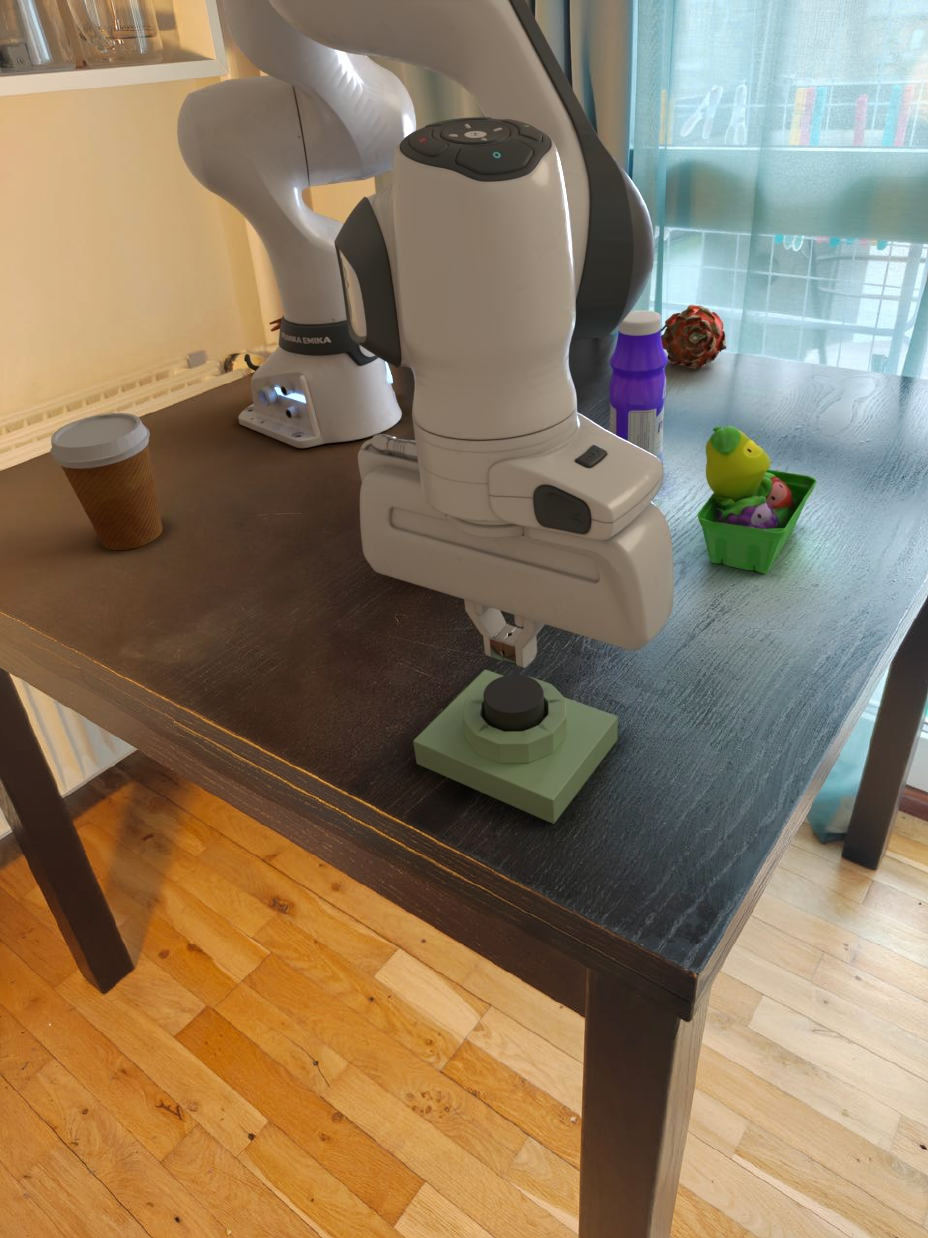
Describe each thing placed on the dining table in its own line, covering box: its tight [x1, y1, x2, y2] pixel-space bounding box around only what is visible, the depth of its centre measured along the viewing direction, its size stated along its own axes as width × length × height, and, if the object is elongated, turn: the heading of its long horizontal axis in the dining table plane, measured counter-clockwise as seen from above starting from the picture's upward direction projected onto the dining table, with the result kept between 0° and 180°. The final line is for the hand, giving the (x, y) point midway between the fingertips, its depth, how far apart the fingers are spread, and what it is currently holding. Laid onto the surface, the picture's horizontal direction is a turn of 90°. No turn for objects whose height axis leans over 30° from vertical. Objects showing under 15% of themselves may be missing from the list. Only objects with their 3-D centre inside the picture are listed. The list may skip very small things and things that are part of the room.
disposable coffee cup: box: [49, 412, 163, 551], centre depth 90 cm, size 10×10×12 cm
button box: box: [412, 669, 619, 825], centre depth 60 cm, size 11×9×4 cm
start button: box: [483, 674, 544, 732], centre depth 58 cm, size 4×4×2 cm
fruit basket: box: [697, 425, 818, 574], centre depth 78 cm, size 11×9×11 cm
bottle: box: [608, 309, 669, 466], centre depth 89 cm, size 7×6×17 cm
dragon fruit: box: [661, 304, 727, 370], centre depth 120 cm, size 8×8×12 cm
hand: (511, 656), depth 56 cm, fingers closed
